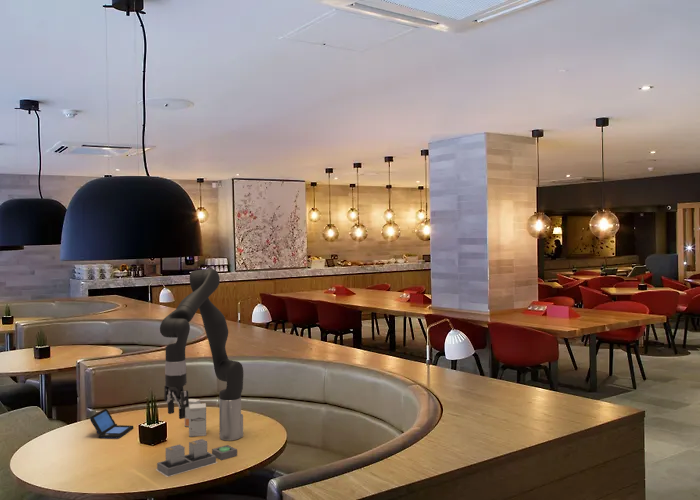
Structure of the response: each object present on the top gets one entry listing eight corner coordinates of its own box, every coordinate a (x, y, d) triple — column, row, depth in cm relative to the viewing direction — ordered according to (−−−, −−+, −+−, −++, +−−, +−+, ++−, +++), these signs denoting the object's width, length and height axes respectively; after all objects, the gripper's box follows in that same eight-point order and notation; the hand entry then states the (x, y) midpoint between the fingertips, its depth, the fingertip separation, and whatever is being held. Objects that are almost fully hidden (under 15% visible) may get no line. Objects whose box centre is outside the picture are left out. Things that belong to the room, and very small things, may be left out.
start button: (226, 451, 240) (226, 446, 240) (231, 453, 238) (231, 448, 237) (217, 453, 238) (217, 448, 238) (222, 456, 235) (222, 451, 235)
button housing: (227, 453, 243) (227, 444, 243) (237, 458, 237) (237, 449, 237) (212, 457, 238) (211, 449, 238) (221, 462, 233) (221, 453, 233)
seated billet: (202, 459, 233) (202, 438, 233) (207, 462, 230) (207, 441, 230) (189, 463, 230) (188, 441, 229) (194, 466, 227) (194, 444, 226)
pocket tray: (205, 458, 237) (205, 449, 237) (217, 465, 230) (217, 456, 230) (155, 472, 223) (155, 462, 223) (167, 479, 216) (167, 470, 216)
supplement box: (189, 437, 263) (188, 408, 263) (188, 432, 270) (188, 403, 270) (206, 435, 265) (206, 407, 265) (205, 430, 272) (205, 402, 272)
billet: (179, 465, 227) (179, 444, 227) (184, 468, 224) (184, 446, 224) (165, 469, 223) (165, 447, 223) (170, 472, 220) (170, 450, 220)
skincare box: (184, 426, 278) (184, 400, 278) (189, 424, 282) (189, 398, 282) (195, 428, 276) (195, 401, 276) (200, 425, 280) (200, 399, 280)
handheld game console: (119, 439, 261) (118, 418, 261) (89, 439, 262) (88, 417, 262) (134, 428, 277) (134, 408, 276) (106, 427, 278) (105, 407, 277)
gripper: (157, 370, 227) (158, 414, 228) (175, 377, 217) (176, 422, 217) (175, 367, 232) (176, 409, 233) (194, 373, 222) (195, 417, 222)
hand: (176, 415), depth 225 cm, fingers open, 8 cm apart
